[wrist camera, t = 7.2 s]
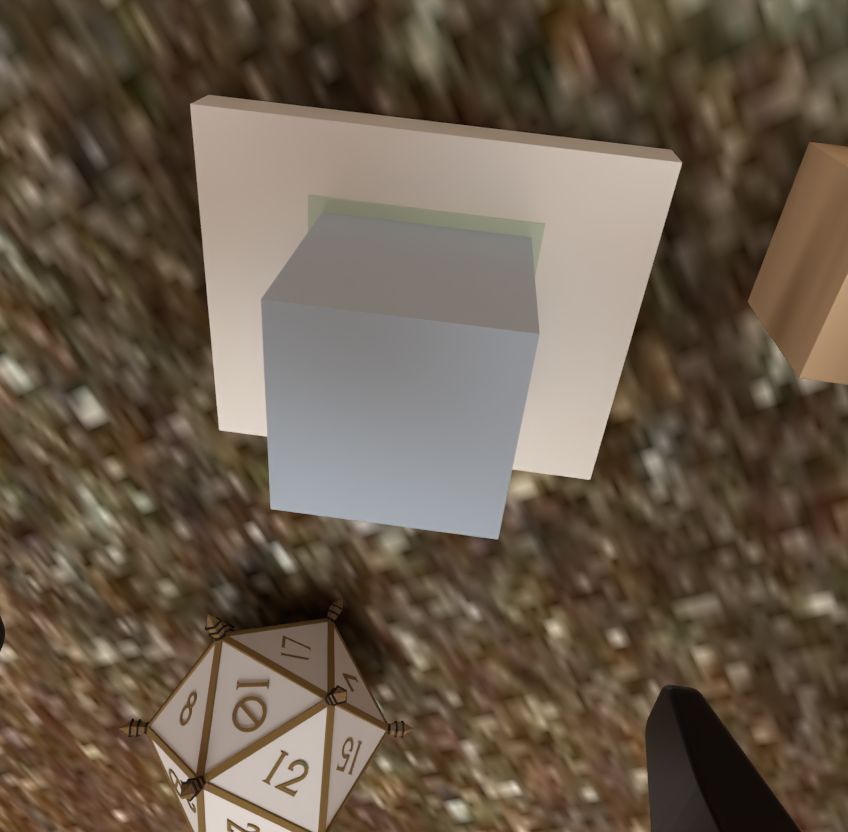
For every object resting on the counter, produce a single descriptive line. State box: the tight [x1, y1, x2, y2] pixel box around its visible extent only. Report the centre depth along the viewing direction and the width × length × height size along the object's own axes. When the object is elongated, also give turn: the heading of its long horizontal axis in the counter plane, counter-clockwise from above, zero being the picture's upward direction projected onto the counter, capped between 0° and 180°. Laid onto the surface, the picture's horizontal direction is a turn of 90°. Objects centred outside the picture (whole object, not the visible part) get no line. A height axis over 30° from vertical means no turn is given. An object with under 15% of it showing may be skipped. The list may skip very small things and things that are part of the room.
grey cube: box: [261, 212, 540, 539], centre depth 16 cm, size 5×5×5 cm
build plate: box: [190, 95, 682, 480], centre depth 18 cm, size 11×9×1 cm
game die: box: [119, 598, 413, 832], centre depth 24 cm, size 9×8×10 cm
